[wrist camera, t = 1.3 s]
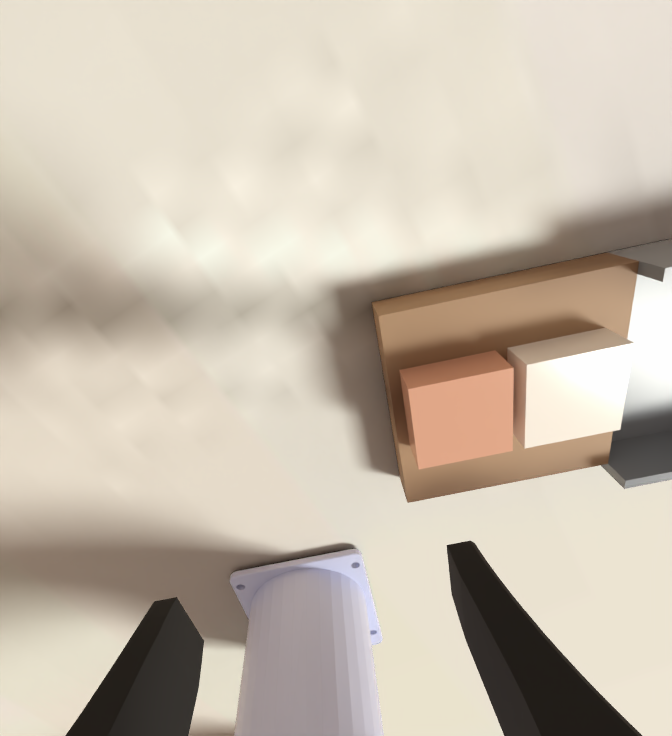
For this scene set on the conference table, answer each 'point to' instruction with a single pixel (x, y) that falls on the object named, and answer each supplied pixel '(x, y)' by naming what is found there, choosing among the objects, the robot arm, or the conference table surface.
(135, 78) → the conference table surface
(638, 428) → the slate tray
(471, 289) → the walnut board
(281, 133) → the conference table surface
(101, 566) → the conference table surface
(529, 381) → the cream tile
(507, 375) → the terracotta tile
